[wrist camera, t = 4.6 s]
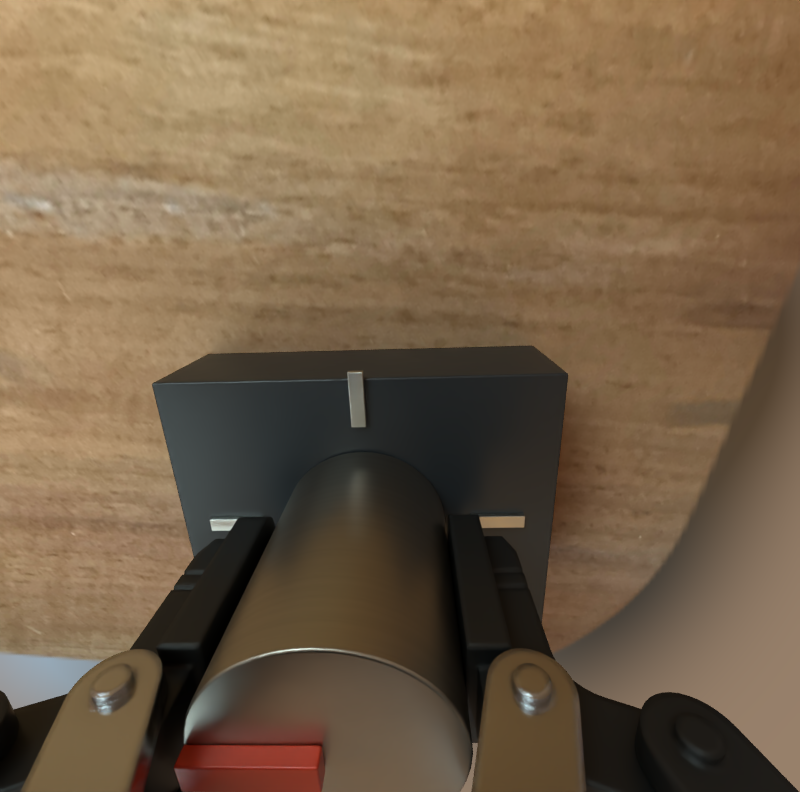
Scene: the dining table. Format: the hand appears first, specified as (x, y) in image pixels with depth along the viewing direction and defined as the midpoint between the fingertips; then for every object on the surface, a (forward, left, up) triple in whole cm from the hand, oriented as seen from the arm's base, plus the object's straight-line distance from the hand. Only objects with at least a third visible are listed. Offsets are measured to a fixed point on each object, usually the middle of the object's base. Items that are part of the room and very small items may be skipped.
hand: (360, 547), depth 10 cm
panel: (0, 0, -4) cm, 4 cm away
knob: (0, 0, -1) cm, 1 cm away
